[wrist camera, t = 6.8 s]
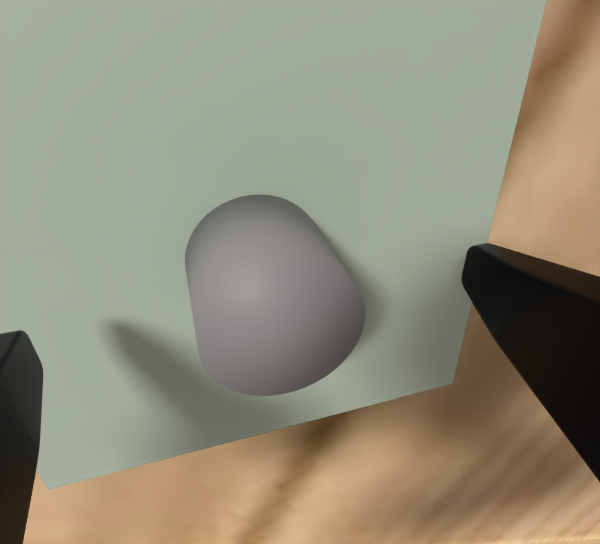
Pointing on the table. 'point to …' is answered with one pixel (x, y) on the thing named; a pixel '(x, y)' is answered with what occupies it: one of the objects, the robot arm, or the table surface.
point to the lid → (244, 208)
